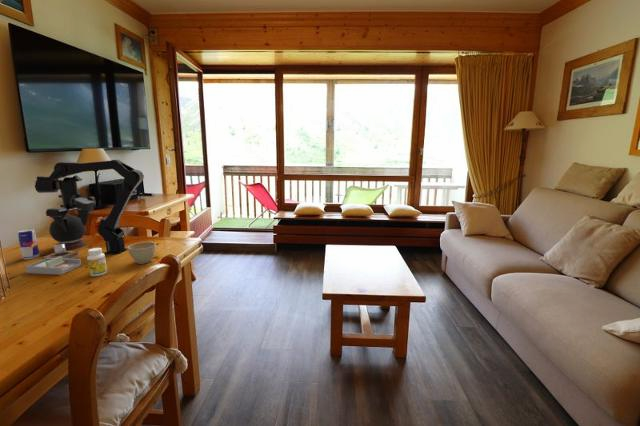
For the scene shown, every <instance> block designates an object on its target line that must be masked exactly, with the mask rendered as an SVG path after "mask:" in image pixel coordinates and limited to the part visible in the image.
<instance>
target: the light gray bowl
mask: <svg viewBox="0 0 640 426" xmlns="http://www.w3.org/2000/svg"><path fill="white" fill-rule="evenodd" d="M127 248H128V249H127V250H128V253H129V255H130V257H131V258H132V259H133V261H134V262H135V263H136V264H140V265H141V264H148V263H151V261H152V259H153V258H154V255H155V251H156V242H154V241H141V242H137V243H132V244H130V245H128V246H127Z"/></svg>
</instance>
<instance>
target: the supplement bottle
mask: <svg viewBox="0 0 640 426" xmlns="http://www.w3.org/2000/svg"><path fill="white" fill-rule="evenodd" d="M87 252H88V255H87V257H86V260H87V264H88V269H89V275H90V276H91V277H99V276H103V275H105V274H107V273H108V266H107V260H106V255H105V253H103V250H102V248H101V247H93V248H90V249H87Z"/></svg>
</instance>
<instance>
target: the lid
mask: <svg viewBox="0 0 640 426" xmlns="http://www.w3.org/2000/svg"><path fill="white" fill-rule="evenodd" d="M62 263H65V261H63V258H62V256H60V257H57V258H55V259H52V260H48V261H46V262H43V263H41V264H38V265H35V266H44V267H55V266H57V265H60V264H62Z"/></svg>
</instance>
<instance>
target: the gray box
mask: <svg viewBox="0 0 640 426" xmlns="http://www.w3.org/2000/svg"><path fill="white" fill-rule="evenodd" d="M52 259H55V258H46V259H44V260H43V259H40V260H38V261H36V262H33V263H31V264H28V265H25V266H24V268H25V272H26V274H37V275H57V276H58V275H59V276H60V275H63V274H65V273H67V272H70V271H72V270H74V269H76V268H78V267H81V266H82V260H81V259H80V258H75V259H67V258H63V261H65V263H62V264H60V265H57V266H55V267H44V266H35V265H38V264H41V263H43V262H46V261H48V260H52Z"/></svg>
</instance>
